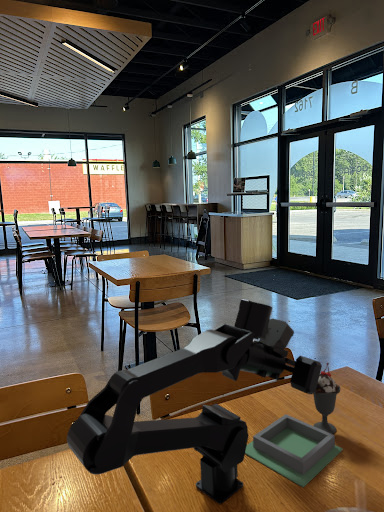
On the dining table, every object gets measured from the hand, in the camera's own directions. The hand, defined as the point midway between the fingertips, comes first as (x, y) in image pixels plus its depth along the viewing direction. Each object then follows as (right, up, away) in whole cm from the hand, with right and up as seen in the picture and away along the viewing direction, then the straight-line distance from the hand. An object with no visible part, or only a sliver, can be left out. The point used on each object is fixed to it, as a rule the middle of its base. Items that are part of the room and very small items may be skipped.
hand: (299, 369), depth 83 cm
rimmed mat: (-2, -16, -2) cm, 16 cm away
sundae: (+7, -15, +4) cm, 17 cm away
